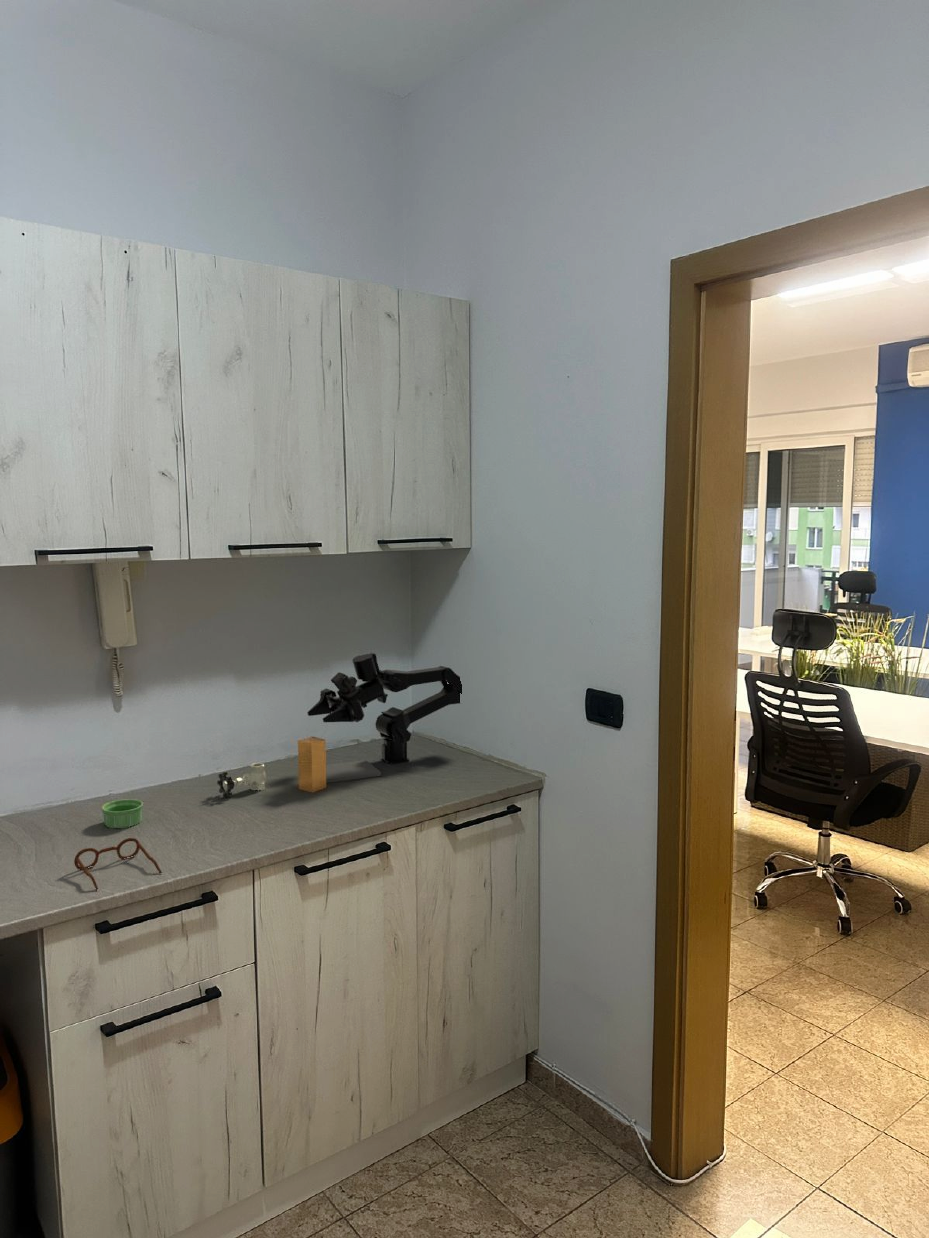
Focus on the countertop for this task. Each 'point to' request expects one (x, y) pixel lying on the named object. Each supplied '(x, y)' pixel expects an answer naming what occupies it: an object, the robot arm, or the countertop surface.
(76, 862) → the glasses
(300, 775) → the wooden block
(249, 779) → the valve
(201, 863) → the countertop surface
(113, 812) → the ramekin
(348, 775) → the rubber mat
